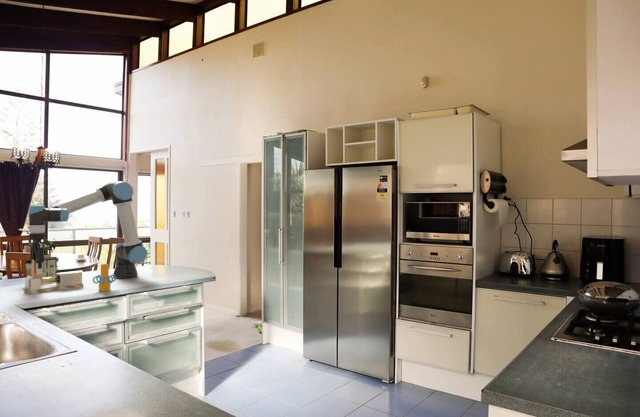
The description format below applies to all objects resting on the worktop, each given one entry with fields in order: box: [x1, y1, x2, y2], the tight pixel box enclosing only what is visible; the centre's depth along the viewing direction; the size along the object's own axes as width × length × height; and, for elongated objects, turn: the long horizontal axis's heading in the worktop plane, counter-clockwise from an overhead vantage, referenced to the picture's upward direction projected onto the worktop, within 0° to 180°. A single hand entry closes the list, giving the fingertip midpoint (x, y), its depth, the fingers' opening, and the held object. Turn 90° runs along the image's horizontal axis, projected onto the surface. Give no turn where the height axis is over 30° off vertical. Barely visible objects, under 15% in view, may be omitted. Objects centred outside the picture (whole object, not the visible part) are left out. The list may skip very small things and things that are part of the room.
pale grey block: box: [55, 270, 83, 287], centre depth 260 cm, size 12×6×7 cm, turn 140°
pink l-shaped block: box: [32, 259, 60, 285], centre depth 251 cm, size 16×3×14 cm, turn 140°
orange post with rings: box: [92, 263, 117, 292], centre depth 252 cm, size 12×10×15 cm
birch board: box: [23, 283, 84, 295], centre depth 254 cm, size 28×9×2 cm, turn 140°
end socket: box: [24, 275, 42, 291], centre depth 246 cm, size 6×6×7 cm
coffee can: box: [42, 256, 58, 278], centre depth 286 cm, size 10×10×14 cm
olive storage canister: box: [24, 258, 44, 277], centre depth 269 cm, size 10×10×15 cm
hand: (36, 273), depth 247 cm, fingers open, 7 cm apart
